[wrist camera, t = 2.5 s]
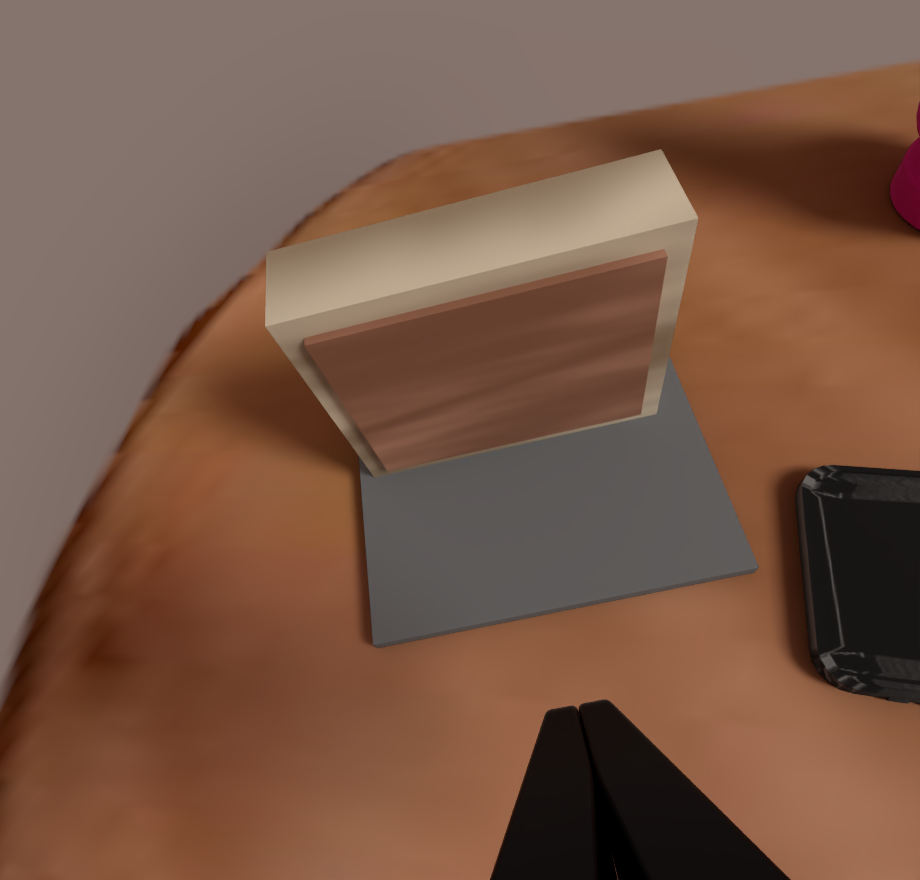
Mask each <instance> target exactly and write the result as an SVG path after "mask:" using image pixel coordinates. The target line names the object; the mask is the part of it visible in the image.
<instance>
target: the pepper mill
mask: <svg viewBox="0 0 920 880" xmlns="http://www.w3.org/2000/svg"><path fill="white" fill-rule="evenodd" d="M917 130H918V133H919V138H918V139H917V140H916V141H914V142H913V143H912V145H911V146H910V147H909V149H908V150H907V152H906V154H905V156H904V158H903V160H902V162H901V164H900V166H899V167H898V169H897V171H896V173H895V175H894V177H893V179H892V181H891V185H890V196H891V200H892V202H893V205H894V208H895V209H896V210H897V212H898V213H899V214H900V215H901V217H902V218H903V219H904V220H906V221H907V222H908V223H910V224H911V225H912V226H913V227H915V228H916V229H918V230H920V103H919V106H918V111H917Z"/></svg>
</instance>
